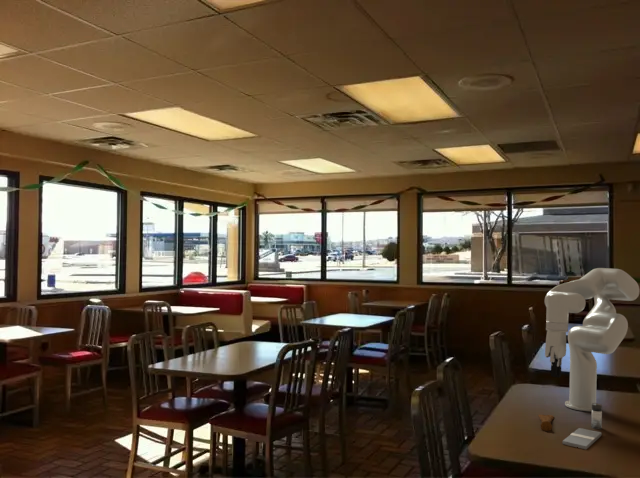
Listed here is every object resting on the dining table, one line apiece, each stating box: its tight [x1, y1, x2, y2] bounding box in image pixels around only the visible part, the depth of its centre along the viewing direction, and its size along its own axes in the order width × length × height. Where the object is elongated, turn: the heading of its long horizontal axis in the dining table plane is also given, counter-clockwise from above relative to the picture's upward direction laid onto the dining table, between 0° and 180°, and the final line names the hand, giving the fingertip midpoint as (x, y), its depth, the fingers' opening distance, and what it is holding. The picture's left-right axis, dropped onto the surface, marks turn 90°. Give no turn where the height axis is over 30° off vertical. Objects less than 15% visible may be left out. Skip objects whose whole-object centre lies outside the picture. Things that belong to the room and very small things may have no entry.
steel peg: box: [590, 402, 603, 430], centre depth 198 cm, size 3×3×8 cm
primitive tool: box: [537, 414, 555, 432], centre depth 202 cm, size 19×6×4 cm, turn 161°
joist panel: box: [562, 427, 602, 450], centre depth 185 cm, size 18×7×1 cm, turn 140°
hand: (555, 376), depth 211 cm, fingers closed
